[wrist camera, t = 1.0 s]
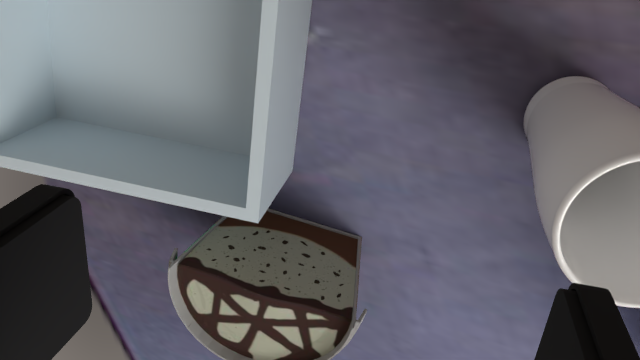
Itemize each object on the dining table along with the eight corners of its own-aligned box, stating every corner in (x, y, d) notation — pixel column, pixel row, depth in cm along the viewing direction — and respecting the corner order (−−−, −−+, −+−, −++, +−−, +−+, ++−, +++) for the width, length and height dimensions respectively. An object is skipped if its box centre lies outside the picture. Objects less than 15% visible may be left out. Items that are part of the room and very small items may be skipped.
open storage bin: (30, -165, 34) (-82, -192, 27) (327, -127, 31) (291, -145, 24) (54, 122, 42) (-28, 160, 35) (292, 170, 39) (258, 223, 32)
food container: (210, 260, 44) (150, 344, 35) (221, 193, 41) (159, 265, 32) (360, 308, 43) (337, 407, 34) (381, 243, 40) (362, 331, 31)
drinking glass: (509, 170, 36) (547, 310, 23) (510, 66, 33) (552, 154, 20) (624, 165, 34) (739, 313, 21) (634, 56, 32) (771, 145, 18)
